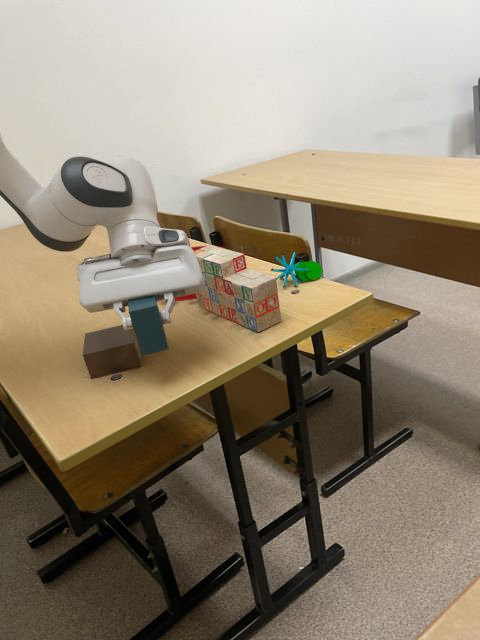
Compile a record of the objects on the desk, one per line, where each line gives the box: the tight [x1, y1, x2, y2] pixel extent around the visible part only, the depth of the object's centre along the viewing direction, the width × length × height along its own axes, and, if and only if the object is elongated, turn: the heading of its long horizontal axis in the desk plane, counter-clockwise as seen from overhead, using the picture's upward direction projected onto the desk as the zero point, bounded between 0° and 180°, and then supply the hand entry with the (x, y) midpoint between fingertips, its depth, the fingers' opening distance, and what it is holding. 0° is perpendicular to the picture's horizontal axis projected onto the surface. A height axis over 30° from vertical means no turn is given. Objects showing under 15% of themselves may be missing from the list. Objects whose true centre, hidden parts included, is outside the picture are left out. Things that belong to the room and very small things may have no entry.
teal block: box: [127, 295, 170, 357], centre depth 85 cm, size 4×4×8 cm
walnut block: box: [82, 324, 142, 380], centre depth 97 cm, size 9×9×5 cm
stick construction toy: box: [270, 252, 324, 289], centre depth 120 cm, size 12×7×8 cm
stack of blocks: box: [194, 244, 282, 333], centre depth 106 cm, size 21×6×12 cm, turn 40°
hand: (148, 326), depth 85 cm, fingers closed on teal block, 4 cm apart
